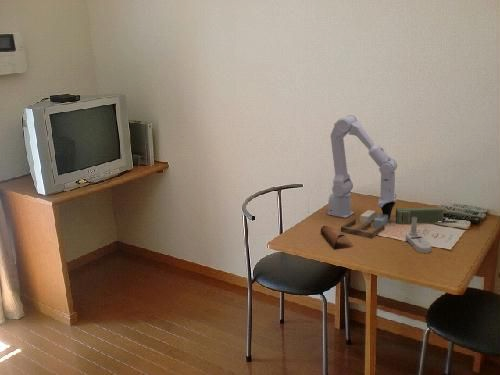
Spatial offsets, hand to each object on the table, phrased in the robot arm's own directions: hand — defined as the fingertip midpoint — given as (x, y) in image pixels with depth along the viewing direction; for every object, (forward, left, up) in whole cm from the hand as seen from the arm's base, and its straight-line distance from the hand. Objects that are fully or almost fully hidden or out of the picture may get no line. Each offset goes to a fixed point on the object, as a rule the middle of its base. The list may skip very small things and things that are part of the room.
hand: (386, 218), depth 232 cm
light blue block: (0, -6, -1) cm, 6 cm away
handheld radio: (+15, +7, -2) cm, 16 cm away
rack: (-3, -15, -1) cm, 15 cm away
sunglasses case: (-7, -30, -2) cm, 31 cm away
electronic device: (+21, -18, -2) cm, 28 cm away
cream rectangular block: (-7, -3, -1) cm, 8 cm away
